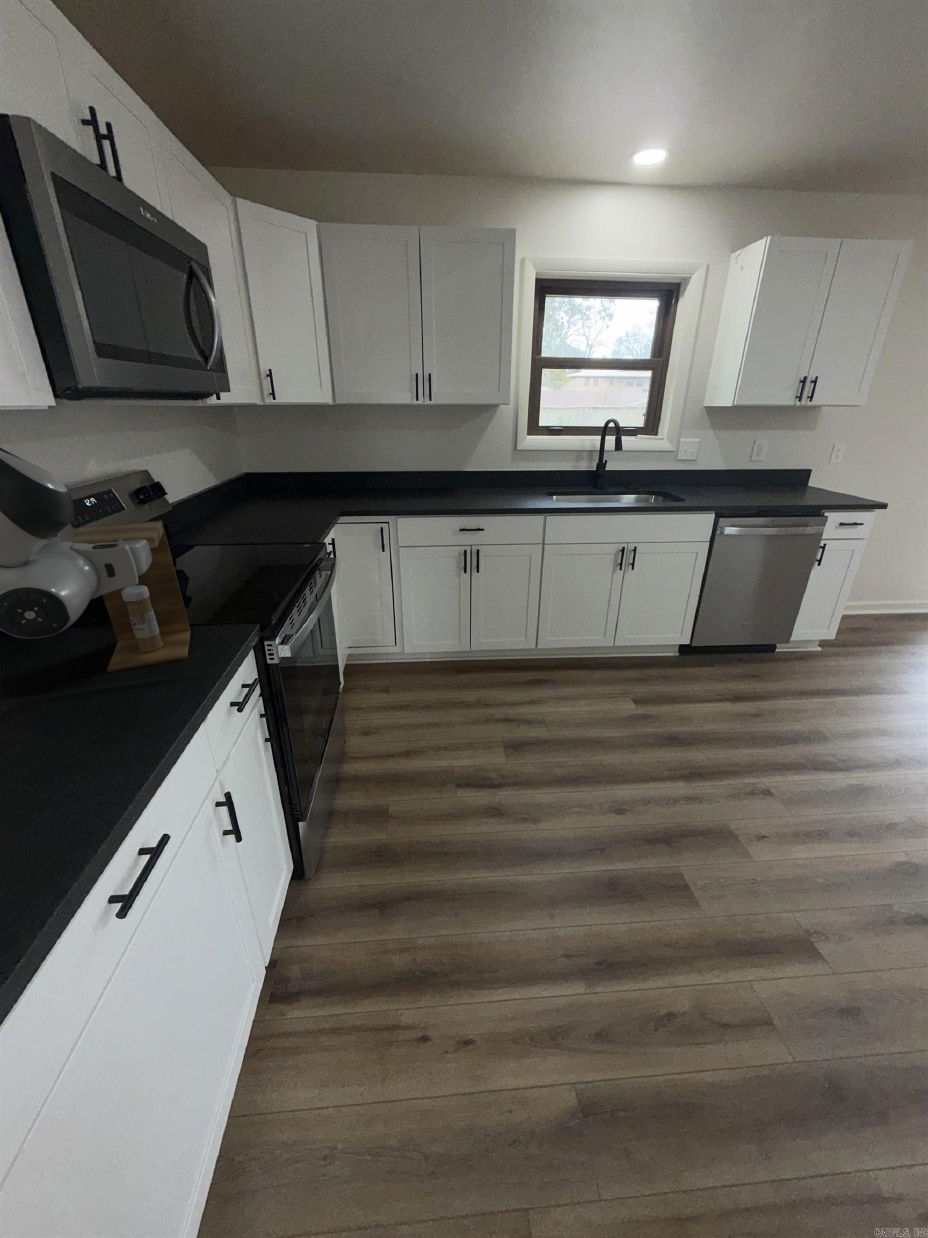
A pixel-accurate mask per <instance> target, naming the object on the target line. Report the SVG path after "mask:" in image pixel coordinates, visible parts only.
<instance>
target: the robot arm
mask: <svg viewBox="0 0 928 1238" xmlns="http://www.w3.org/2000/svg"><path fill="white" fill-rule="evenodd" d="M74 519H75V509H74V501H73V496H72V493H71V490H70V488H69V487H68V486H67V485H66V484H65V483H64V482H62V481H61V480H60V479H59V478H58V477H56V476H55V475H54V474H52V473H51V472H49V471H48V470H46V469H44V468H42V467H40V466H39V465H36V464H35V463H32V462H30V461H27V460H25V459H23V458H21V457H20V456H18V455H16V454H14V453H11V452H10V451H7V450H6V449H4V448H2V447H0V631H2V632H4V633H5V634H8V635H10V636H12V637H15V638H20V639H29V640H30V639H42V638H43V639H44V638H48V637H52V636H54V635H57V634H60V633H62V632H63V631H65V630H66V629H69V628H70V627H71V626H72V625H73V624H74V623H76V621H77V620H78V619H79V618H80V617H81V615H82V614H83V613H84V611H85V610H86V609H87V607H88V605H89V603H90V600H93V599H96V598H98V597H101V596H103V594H106V593H108V592H112V591H116V590H120V589H124V588H127V587H131V586H135V585H137V584H138V582H139V581H138V576H140V575H142V574H143V573H145V572H146V571H147V569H148V568H149V566H150V564H151V562H152V555H151V551H150V547H149V544H148V542H147V541H146V540H143V539H139V540H129V541H122V540H114V541H111V542H109V543H98V544H84V543H72V542H67V541H65V540H63V541H62V540H57V541H51V542H48V541H49V540H51V539H54V537H56V536H57V535H58V534H59V533H60V532H62V531H63V530H64V529H65V528H66V527H68V526H69V525H70V524H71V523H73V522H74Z"/></svg>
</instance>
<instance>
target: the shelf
mask: <svg viewBox="0 0 928 1238" xmlns="http://www.w3.org/2000/svg"><path fill="white" fill-rule="evenodd" d="M139 539H143V540H146V541H147V542H148V544H149V547H150V551H151V555H152V562H151V564H150V566H149V568H148V569H147V571H146V572H145V573H143V574H142V575H140V576H138V581H139V582H138V584H137V585H135V586H138V585H142V586H146V587H147V588H148V591H149V598H150V602H151V605H152V608H153V611H154V614H155V618H156V621H157V625H158V628H159V633H160V637H161V640H162V642H163V646H162V647H161V648H159V649H157V650H155V651H151V652H142V651H140V650H139V646H138V643H137V639H136V636H135V634H134V630H133V627H132V624H131V620H130V616H129V613H128V609H127V606H126V603H125V601H124V600H123V597H122V594H121V591H122V590H123V589H120V590H116V591H112V592H108V593H106V594H103V595H102V599H103V602H104V604H105V607H106V610H107V613H108V616H109V619H110V622H111V625H112V628H113V632H114V634H115V637H116V640H117V644H116V646H115V649H114V651H113V654H112V656H111V658H110V660H109V663H108V666H107V668H106V672H107V673H110V672H117V671H123V670H128V669H133V668H138V667H139V668H140V667H145V666H150V665H155V664H161V663H167V662H173V661H178V660H183V659H188V655H189V650H190V649H189V647H190V640H191V632H192V630H191V625H190V622H189V618H188V614H187V611H186V606H185V603H184V599H183V596H182V595H183V594H182V592H181V588H180V585H179V580H178V577H177V573H176V569H175V565H174V561H173V558H172V554H171V550H170V546H169V542H168V538H167V534H166V531H165V527H164V523H163V520H160V519H159V520H152V521H151V520H149V521H139V522H138V521H137V522H127V523H126V522H125V523H114V524H104V525H93V526H81V527H80V528H79V529H78V530H77V531H76V532H75V533H74V534H73V535H72V536H71V537H70V538H69V539H68V540H67V541H66V542H72V543H84V544H98V543H109V542H111V541H114V540H122V541H129V540H139ZM124 589H125V588H124Z"/></svg>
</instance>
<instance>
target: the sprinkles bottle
mask: <svg viewBox="0 0 928 1238" xmlns="http://www.w3.org/2000/svg"><path fill="white" fill-rule="evenodd" d="M121 594H122V597H123V600H124V601H125V603H126V606H127V609H128V613H129V616H130V620H131V624H132V627H133V630H134V634H135V636H136V639H137V643H138V646H139V650H140V651H142V652H151V651H155V650H157V649H159V648H161V647H162V646H163V642H162V640H161V637H160V633H159V628H158V625H157V621H156V618H155V614H154V611H153V608H152V605H151V602H150V598H149V591H148V588H147V587H146V586H142V585H138V586H131V587H127V588H125V589H123V590H122V591H121Z"/></svg>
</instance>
